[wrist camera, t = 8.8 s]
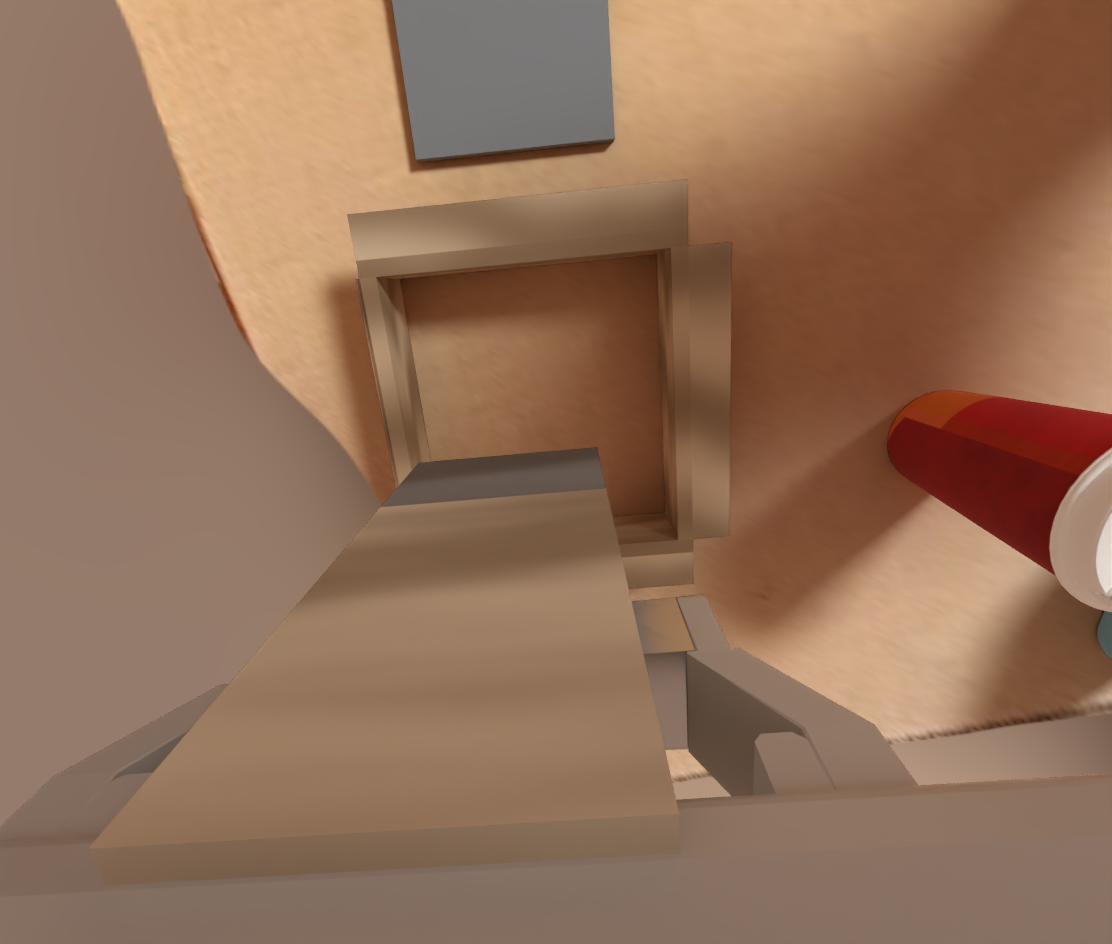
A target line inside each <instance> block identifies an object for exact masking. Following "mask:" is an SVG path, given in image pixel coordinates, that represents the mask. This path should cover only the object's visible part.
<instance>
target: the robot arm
mask: <svg viewBox="0 0 1112 944" xmlns="http://www.w3.org/2000/svg"><path fill="white" fill-rule="evenodd" d="M632 606H633V610H634V615H635V619H636V624H637V628H638V632H639V637H640V641H641V646H642V650H643V655H644V659H645V664H646V668H647V673H648V677H649V681H650V686H651V690H652V695H653V699H654V704H655V708H656V713H657V717H658V722H659V726H660V730H661V735H662V739H663V744H664V748H665V750H675V749H689V752H690V753H691V754H692V755H693V757H694V758H695V759H696V760H697V761H698V762H699V763H700V764H701V765H702V766H703V767H704V768H705V769H706V770H707V771H708V772H709V773H710V774H711V775H712V776H713V777H714V778H715V779H716V780H717V781H718V782H719V783H720V785H721V786H722V787H723V788H724V789H725V790H726V791H727V792H728V793H729V794H730V795H731V797H715V798H697V799H682V800H676V802H677V806H678V811H679V824H680V853H675V854H657V855H639V856H621V857H603V858H585V859H567V860H549V861H532V862H514V863H496V864H478V865H460V866H442V867H424V868H406V869H389V870H371V871H353V872H335V873H317V874H299V875H281V876H264V877H246V878H228V879H210V880H192V881H174V882H156V883H138V884H121V885H105V883H104V880H103V878H102V876H101V874H100V872H99V870H98V868H97V866H96V864H95V862H94V860H93V858H92V856H91V854H90V852H89V850H88V848H89V847H90V846H91V845H92V844H93V843H94V841H95V840H96V839H97V838H98V837H99V835H100V834H101V833H102V832H103V831H104V830H105V828H106V827H107V826H108V825H109V824H110V823H111V821H112V820H113V819H114V818H115V817H116V816H117V814H118V813H119V812H120V811H121V810H122V809H123V807H124V806H125V805H126V804H127V803H128V802H129V800H130V799H131V798H132V797H133V796H134V795H135V793H136V792H137V791H138V790H139V789H140V788H141V786H142V785H143V784H144V783H145V782H146V781H147V779H148V778H149V777H150V776H151V775H152V774H153V772H154V771H155V770H156V769H157V768H158V767H159V765H160V764H161V763H162V762H163V761H164V760H165V758H166V757H167V756H168V755H169V754H170V753H171V751H172V750H173V749H174V748H175V747H176V745H177V744H178V743H179V742H180V741H181V740H182V738H183V737H184V736H185V735H186V734H187V733H188V731H189V730H190V729H191V728H192V727H193V726H194V724H195V723H196V722H197V721H198V720H199V719H200V717H201V716H202V715H203V714H204V713H205V712H206V710H207V709H208V708H209V707H210V706H211V705H212V703H213V702H214V701H215V700H216V699H217V698H218V696H219V695H220V694H221V693H222V692H223V691H224V689H225V688H226V687H227V686H228V685H229V684H230V683H229V684H222V685H218V686H217V687H215V688H213V689H211V690H209V691H208V692H206V693H204V694H202V695H200V696H198V697H197V698H195V699H193V700H191V701H189V702H188V703H186V704H184V705H182V706H181V707H179V708H177V709H175V710H173V711H171V712H169V713H168V714H166V715H164V716H162V717H160V718H159V719H157V720H155V721H153V722H151V723H150V724H148V725H146V726H144V727H142V728H140V729H138V730H137V731H135V732H133V733H131V734H130V735H128V736H126V737H124V738H122V739H120V740H119V741H117V742H115V743H113V744H111V745H110V746H108V747H106V748H104V749H102V750H100V751H99V752H97V753H95V754H93V755H91V756H89V757H88V758H86V759H84V760H83V761H80V762H78V763H77V764H75V765H73V766H71V767H70V768H68V769H66V770H64V771H62V772H60V773H58V774H57V775H55V776H53V777H52V778H51V779H50V780H49V781H48V782H47V783H46V784H45V785H43V786H42V787H41V788H40V789H39V790H38V791H37V792H36V793H35V794H34V795H33V796H32V797H31V798H30V799H29V800H28V801H27V802H25V804H23V805H22V806H21V807H20V808H19V809H18V810H17V811H16V812H15V813H14V814H13V815H12V816H11V817H10V818H9V819H7V820H6V822H4V823H3V824H2V825H1V826H0V944H1112V774H1099V775H1082V776H1065V777H1049V778H1033V779H1015V780H998V781H983V782H965V783H950V784H949V783H948V784H932V785H918V784H917V783H916V781H915V780H914V778H913V777H912V775H911V774H910V773H909V771H908V770H907V769H906V767H905V766H904V765H903V763H902V762H901V760H900V759H899V758H898V756H897V755H896V754H895V752H894V751H893V749H892V748H891V746H890V745H889V744H888V742H887V741H886V740H885V738H884V737H883V735H882V734H881V733H880V731H879V730H878V729H877V727H876V726H875V725H874V724H873V723H871V722H869V721H867V720H866V719H864V718H862V717H860V716H858V715H857V714H855V713H853V712H851V711H850V710H848V709H846V708H844V707H843V706H841V705H839V704H837V703H836V702H834V701H832V700H830V699H828V698H827V697H825V696H823V695H821V694H820V693H818V692H816V691H814V690H813V689H811V688H809V687H807V686H805V685H804V684H802V683H800V682H798V681H797V680H795V679H793V678H791V677H790V676H788V675H786V674H784V673H782V672H781V671H779V670H777V669H775V668H774V667H772V666H770V665H768V664H767V663H765V662H763V661H761V660H759V659H758V658H756V657H754V656H752V655H751V654H749V653H747V652H745V651H744V650H742V649H740V648H733V649H731V648H730V646H729V644H728V642H727V640H726V637H725V635H724V633H723V631H722V629H721V627H720V625H719V623H718V621H717V619H716V617H715V615H714V613H713V611H712V609H711V606H710V604H709V602H708V600H707V598H706V596H704V595H702V594H700V595H691V596H682V597H673V598H663V599H653V600H643V601H633V602H632ZM235 677H236V676H235Z"/></svg>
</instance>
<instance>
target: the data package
mask: <svg viewBox="0 0 1112 944" xmlns="http://www.w3.org/2000/svg"><path fill="white" fill-rule="evenodd" d="M1097 637H1098V641H1099V644H1100V646H1101V648H1102V650H1103V651H1104V652H1105V654H1106V655H1107V656H1108V657H1109V658H1111V659H1112V612H1107V611H1104V613H1103V616H1102V618H1101V620H1100V623H1099V625H1098V629H1097Z"/></svg>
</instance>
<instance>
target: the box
mask: <svg viewBox="0 0 1112 944" xmlns="http://www.w3.org/2000/svg"><path fill="white" fill-rule="evenodd" d="M88 850H89V852H90V854H91V856H92V858H93V860H94V862H95V864H96V866H97V868H98V870H99V872H100V874H101V876H102V878H103V880H104V883H105V885H121V884H138V883H156V882H174V881H192V880H210V879H228V878H246V877H264V876H281V875H299V874H317V873H335V872H353V871H371V870H389V869H406V868H424V867H442V866H460V865H478V864H496V863H514V862H532V861H549V860H567V859H585V858H603V857H621V856H639V855H657V854H675V853H680V824H679V811H678V806H677V802H676V798H675V793H674V788H673V784H672V779H671V775H670V771H669V766H668V762H667V757H666V753H665V748H664V744H663V739H662V735H661V730H660V726H659V722H658V717H657V713H656V708H655V704H654V699H653V695H652V690H651V686H650V681H649V677H648V673H647V668H646V664H645V659H644V655H643V650H642V646H641V641H640V637H639V632H638V628H637V624H636V619H635V615H634V610H633V606H632V601H631V597H630V592H629V588H628V583H627V579H626V575H625V570H624V566H623V561H622V557H621V552H620V548H619V543H618V539H617V534H616V530H615V526H614V521H613V517H612V512H611V508H610V503H609V499H608V494H607V490H606V485H605V481H604V477H603V472H602V468H601V463H600V459H599V454H598V450H597V447H595V448H584V449H572V450H560V451H549V452H537V453H526V454H514V455H503V456H491V457H480V458H468V459H457V460H445V461H434V462H422V463H418V464H417V465H416V466H415V467H414V468H413V470H412V471H411V472H410V473H409V474H408V475H407V477H406V478H405V479H404V480H403V481H402V482H401V484H400V485H399V486H398V487H397V488H396V490H395V491H394V492H393V493H392V494H391V495H390V497H389V498H388V499H387V500H386V501H385V502H384V504H383V505H382V506H381V507H380V508H379V509H378V511H377V512H376V513H375V514H374V515H373V516H372V518H371V519H370V520H369V521H368V522H367V523H366V525H365V526H364V527H363V528H362V529H361V531H360V532H359V533H358V534H357V535H356V537H354V539H353V540H352V541H351V542H350V543H349V544H348V546H347V547H346V548H345V549H344V550H343V551H342V553H341V554H340V555H339V556H338V557H337V559H336V560H335V561H334V562H333V563H332V564H331V566H330V567H329V568H328V569H327V570H326V571H325V573H324V574H323V575H322V576H321V577H320V578H319V580H318V581H317V582H316V583H315V584H314V585H313V587H312V588H311V589H310V590H309V591H308V592H307V594H306V595H305V596H304V597H303V598H302V599H301V601H300V602H299V603H298V604H297V605H296V606H295V608H294V609H293V610H292V611H291V612H290V613H289V615H288V616H287V617H286V618H285V619H284V620H283V622H282V623H281V624H280V625H279V626H278V627H277V629H276V630H275V631H274V632H273V633H272V634H271V636H270V637H269V638H268V639H267V640H266V641H265V643H264V644H263V645H262V646H261V647H260V649H259V650H258V651H257V652H256V653H255V654H254V655H253V657H252V658H251V659H250V660H249V661H248V663H247V664H246V665H245V666H244V667H243V668H242V670H241V671H240V672H239V673H238V674H237V676H236V677H235V678H234V679H233V680H232V681H231V682H230V684H229V685H228V686H227V687H226V688H225V689H224V691H223V692H222V693H221V694H220V695H219V696H218V698H217V699H216V700H215V701H214V702H213V703H212V705H211V706H210V707H209V708H208V709H207V710H206V712H205V713H204V714H203V715H202V716H201V717H200V719H199V720H198V721H197V722H196V723H195V724H194V726H193V727H192V728H191V729H190V730H189V731H188V733H187V734H186V735H185V736H184V737H183V738H182V740H181V741H180V742H179V743H178V744H177V745H176V747H175V748H174V749H173V750H172V751H171V753H170V754H169V755H168V756H167V757H166V758H165V760H164V761H163V762H162V763H161V764H160V765H159V767H158V768H157V769H156V770H155V771H154V772H153V774H152V775H151V776H150V777H149V778H148V779H147V781H146V782H145V783H144V784H143V785H142V786H141V788H140V789H139V790H138V791H137V792H136V793H135V795H134V796H133V797H132V798H131V799H130V800H129V802H128V803H127V804H126V805H125V806H124V807H123V809H122V810H121V811H120V812H119V813H118V814H117V816H116V817H115V818H114V819H113V820H112V821H111V823H110V824H109V825H108V826H107V827H106V828H105V830H104V831H103V832H102V833H101V834H100V835H99V837H98V838H97V839H96V840H95V841H94V843H93V844H92V845H91V846H90V847H89V848H88Z"/></svg>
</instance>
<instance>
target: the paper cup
mask: <svg viewBox="0 0 1112 944" xmlns="http://www.w3.org/2000/svg"><path fill="white" fill-rule="evenodd" d="M887 449H888V454H889V458H890V460H891V462H892V464H893V465H894V467H895V468H896V469H897V470H898V471H899V472H900V473H901V474H902V475H904V476H905V477H906V478H908V479H909V480H910V481H912V482H913V483H915V484H916V485H918V486H919V487H921V488H922V489H924V490H925V491H927V492H928V493H930V494H931V495H933V496H934V497H936V498H937V499H939V500H940V501H942V502H943V503H945V504H946V505H948V506H949V507H951V508H952V509H954V510H955V511H957V512H958V513H960V514H962V515H963V516H965V517H966V518H968V519H969V520H971V521H972V522H974V523H975V524H977V525H978V526H980V527H981V528H983V529H985V530H986V531H988V532H989V533H991V534H992V535H994V536H995V537H997V538H998V539H1000V540H1002V541H1003V542H1005V543H1006V544H1008V545H1009V546H1011V547H1012V548H1014V549H1015V550H1017V551H1019V552H1020V553H1022V554H1023V555H1025V556H1026V557H1028V558H1029V559H1031V560H1032V561H1034V562H1036V563H1037V564H1039V565H1040V566H1042V567H1043V568H1045V569H1046V570H1048V571H1049V572H1051V573H1052V574H1054V575H1056V577H1057V578H1058V580H1059V582H1060V583H1061V585H1062V586H1063V587H1064V588H1065V589H1066V590H1067V591H1068V592H1069V594H1071V595H1072V596H1073V597H1075V598H1076V599H1078V600H1079V601H1080V602H1082V603H1084V604H1086V605H1089V606H1091V607H1093V608H1096V609H1100V610H1103V611H1107V612H1112V414H1106V413H1100V412H1093V411H1087V410H1081V409H1074V408H1068V407H1062V406H1055V405H1049V404H1042V403H1036V402H1029V401H1023V400H1016V399H1010V398H1003V397H997V396H990V395H983V394H976V393H969V392H961V391H935V392H931V393H928V394H925V395H923V396H920V397H919V398H917V399H915V400H913V401H912V402H911V403H909V404H908V405H907V406H906V407H905V408H904V409H903V410H902V411H901V412H900V413H899V414H898V416H897V417H896V419H895V420H894V422H893V424H892V426H891V428H890V431H889V435H888V441H887Z"/></svg>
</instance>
